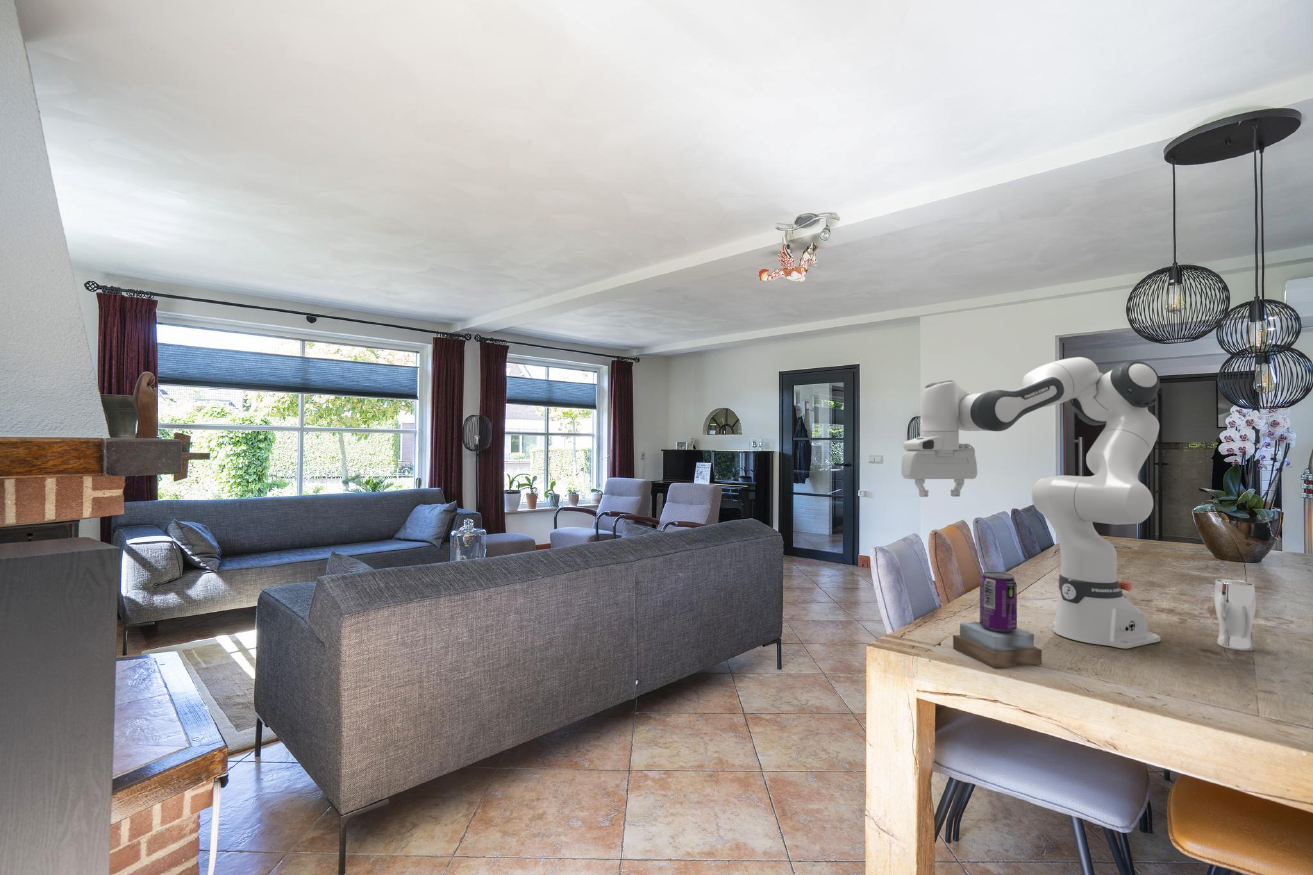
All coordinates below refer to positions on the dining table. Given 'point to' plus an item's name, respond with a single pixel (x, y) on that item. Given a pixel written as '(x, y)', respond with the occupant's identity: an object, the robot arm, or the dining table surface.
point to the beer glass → (1235, 613)
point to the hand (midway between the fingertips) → (939, 496)
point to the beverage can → (998, 601)
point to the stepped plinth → (997, 655)
